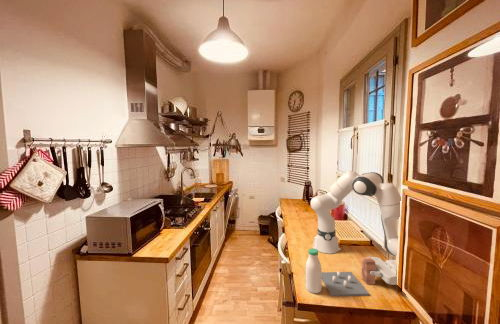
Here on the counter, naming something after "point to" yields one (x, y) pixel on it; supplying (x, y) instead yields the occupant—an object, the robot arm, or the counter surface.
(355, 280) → the peg plate
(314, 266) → the milk bottle
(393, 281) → the robot arm
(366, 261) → the terracotta post
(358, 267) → the counter surface
